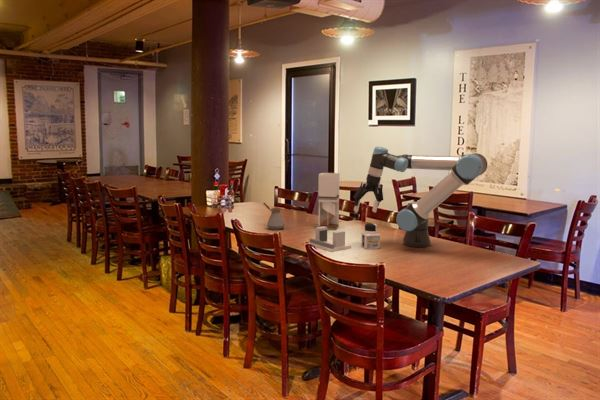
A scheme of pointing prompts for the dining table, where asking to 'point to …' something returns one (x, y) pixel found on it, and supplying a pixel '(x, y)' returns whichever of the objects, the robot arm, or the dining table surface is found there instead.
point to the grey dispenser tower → (328, 200)
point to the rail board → (328, 244)
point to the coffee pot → (275, 219)
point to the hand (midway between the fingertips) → (365, 211)
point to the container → (370, 237)
